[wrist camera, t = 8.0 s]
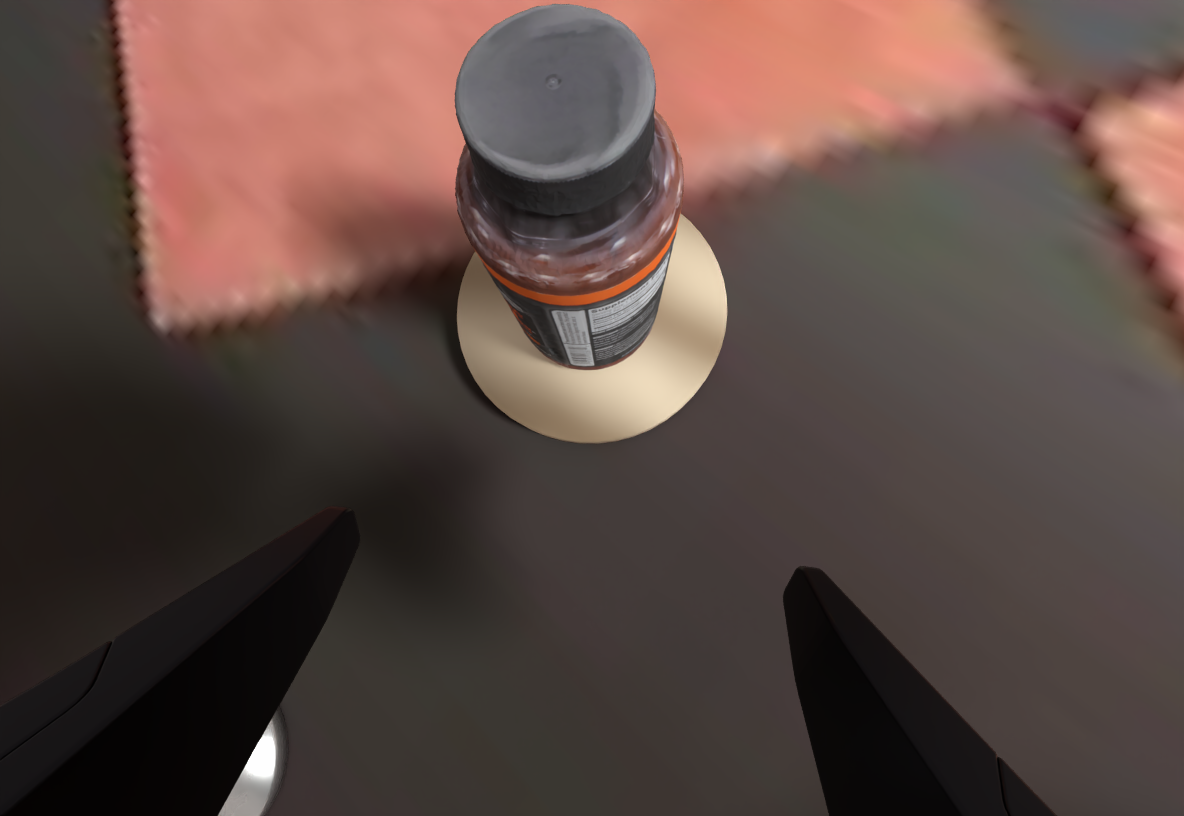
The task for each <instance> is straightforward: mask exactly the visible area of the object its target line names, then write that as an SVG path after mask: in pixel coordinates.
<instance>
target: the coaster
mask: <svg viewBox="0 0 1184 816" xmlns="http://www.w3.org/2000/svg"><path fill="white" fill-rule="evenodd" d="M726 319H727V297H726V291H725V285H724V280H723V276H722V273H721V270H720V267H719V264H718V262H717V260H716V258H715V256H714V254H713V252H712V250H711V248H710V246H709V245H708V243H707V242H706V240H705V239H704V237H703V236H702V235H701V233H700V232H699V231H698V230H697V229H696V228H695V227H694V225H693V224H692V223H691V222H690V221H689V220H688V219H686V218H685V217H684V216H683V215H682V214H681V213H680V217H679V222H678V226H677V232H676V237H675V240H674V244H673V249H672V253H671V257H670V261H669V265H668V270H667V274H666V279H665V282H664V286H663V291H662V295H661V299H660V303H659V308H658V312H657V315H656V318H655V321H654V324H653V326H652V330H651V332H650V334H649V335H648V336H647V338H646V340H645V341H644V343H643V344H642V345H641V346H640V347H639V348H638V349H637V350H636V351H635V352H634V353H633V354H632V355H631V356H629V357H628V358H626V359H625V360H624V361H622V362H620V363H618V364H616V365H613V366H610V367H608V368H604V369H599V370H577V369H571V368H567V367H564V366H561V365H559V364H557V363H555V362H554V361H552V360H550V359H549V358H547V357H546V356H544V355H543V354H542V353H541V352H540V351H539V350H538V349H537V348H536V347H535V346H534V344H532V343H531V341H530V340H529V338H528V337H527V336H526V335H525V333H524V331H523V329H522V328H521V326H520V324H519V322H518V321H517V320H516V317H515V316H514V314H513V312H512V311H511V309H510V307H509V305H508V304H507V302H506V301H505V299H504V297H503V296H502V294H501V292H500V291H499V289H498V288H497V286H496V285H495V283H494V281H493V280H492V278H491V276H490V275H489V273H488V272H487V270H486V268H485V267H484V265H483V263H482V261H481V259H480V257H479V256H478V254H477V253H476V251H475V252H474V254H473V256H472V258H471V260H470V262H469V264H468V266H467V268H466V271H465V274H464V277H463V280H462V283H461V287H460V292H459V298H458V307H457V325H458V335H459V340H460V345H461V349H462V352H463V355H464V358H465V361H466V363H467V366H468V368H469V370H470V372H471V374H472V375H473V377H474V379H475V381H476V382H477V384H478V385H479V387H480V388H481V389H482V391H483V392H484V394H485V395H486V396H487V397H488V398H489V399H490V400H491V401H492V402H493V403H494V404H495V405H496V406H497V407H498V408H499V409H500V410H501V411H503V412H504V413H505V414H507V415H508V416H509V417H510V418H512V419H513V420H515V421H517V422H518V423H520V424H522V425H524V426H525V427H527V428H529V429H530V430H532V431H535V432H537V433H539V434H542V435H544V436H546V437H550V438H553V439H557V440H561V441H564V442H572V443H579V444H602V443H609V442H617V441H620V440H624V439H628V438H632V437H635V436H637V435H640V434H642V433H644V432H647V431H649V430H651V429H653V428H655V427H656V426H658V425H660V424H662V423H663V422H665V421H666V420H668V419H669V418H670V417H671V416H673V415H674V414H675V413H677V412H678V411H679V410H680V409H681V408H682V407H683V406H684V405H685V404H686V403H687V402H688V401H689V400H690V399H691V398H692V397H693V396H694V394H695V393H696V392H697V390H698V389H699V388H700V386H701V385H702V384H703V383H704V381H705V380H706V378H707V377H708V375H709V373H710V371H711V369H712V368H713V366H714V364H715V362H716V359H717V357H718V354H719V352H720V349H721V346H722V342H723V338H724V334H725V330H726Z"/></svg>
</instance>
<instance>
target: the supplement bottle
mask: <svg viewBox="0 0 1184 816" xmlns="http://www.w3.org/2000/svg"><path fill="white" fill-rule="evenodd" d="M655 96H656V84H655V75H654V70H653V67H652V64H651V61H650V57H649V54H648V52H647V50H646V48H645V47H644V46H643V45H642V44H641V42H640V40H639V39H638V38H637V36H636V35H635V34H634V33H633V32H632V31H631V30H630V29H629V28H628V27H627V26H626V25H625V24H623V23H622V22H621V21H618V20H616V19H614V18H613V17H612V16H610V15H608V14H605V13H602V12H601V11H599V10H597V9H591V8H586V7H583V6H578V5H570V4H552V5H548V6H536V7H533V8H530V9H528V10H526V11H523V12H520V13H517V14H515V15H513V16H511V17H509V18H507V19H505V20H503V21H502V22H500V23H498V24H496V25H494V26H493V27H492V28H491V29H490V30H489V31H488V32H486V33H485V34H484V35H483V36H482V37H481V38H480V39H479V40H478V41H477V43H476V44H475V45H474V46H473V47H472V48H471V49H470V51H469V52H468V54H467V56H466V57H465V59H464V62H463V64H462V66H461V69H460V72H459V75H458V77H457V82H456V90H455V108H456V115H457V119H458V122H459V125H460V128H461V131H462V133H463V136H464V139H465V142H466V144H465V146H464V148H463V152H462V154H461V157H460V160H459V165H458V168H457V176H456V188H455V190H456V193H455V196H456V199H457V206H458V210H457V211H458V214H459V217H460V219H461V222H462V225H463V227H464V230H465V233H466V235H467V237H468V239H469V241H470V243H471V244H472V246H473V248H474V249H475V251H476V253H477V254H478V256H479V257H480V259H481V261H482V263H483V265H484V267H485V268H486V270H487V272H488V273H489V275H490V276H491V278H492V280H493V281H494V283H495V285H496V286H497V288H498V289H499V291H500V292H501V294H502V296H503V297H504V299H505V301H506V302H507V304H508V305H509V307H510V309H511V311H512V312H513V314H514V316H515V317H516V320H517V321H518V322H519V324H520V326H521V328H522V329H523V331H524V333H525V335H526V336H527V337H528V338H529V340H530V341H531V343H532V344H534V346H535V347H536V348H537V349H538V350H539V351H540V352H541V353H542V354H543V355H544V356H546V357H547V358H549V359H550V360H552V361H554V362H555V363H557V364H559V365H561V366H564V367H567V368H571V369H577V370H599V369H604V368H608V367H610V366H613V365H616V364H618V363H620V362H622V361H624V360H625V359H626V358H628V357H629V356H631V355H632V354H633V353H634V352H635V351H636V350H637V349H638V348H639V347H640V346H641V345H642V344H643V343H644V341H645V340H646V338H647V336H648V335H649V334H650V332H651V330H652V326H653V324H654V321H655V318H656V315H657V312H658V308H659V303H660V299H661V295H662V291H663V286H664V282H665V279H666V274H667V270H668V265H669V261H670V257H671V253H672V249H673V244H674V240H675V237H676V232H677V226H678V222H679V217H680V213H681V208H682V202H683V191H684V173H683V164H682V158H681V155H680V151H679V148H678V145H677V143H676V140H675V138H674V136H673V134H672V132H671V130H670V128H669V126H668V125H667V123H666V122H665V120H664V119H663V117H662V116H661V115H660V114H659V113H658V112H657V111H656V110H655Z"/></svg>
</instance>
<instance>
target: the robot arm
mask: <svg viewBox="0 0 1184 816" xmlns="http://www.w3.org/2000/svg"><path fill="white" fill-rule="evenodd" d="M359 542H360V533H359V530H358V526H357V522H356V518H355V514H354V511H353V510H352V509H351V508H347V507H340V506H330V507H327V508H325V509H324V510H322V511H320V512H319V513H317V514H316V515H314V516H312V517H311V518H309V519H307V520H306V521H304V522H303V523H301V524H299V525H298V526H296V527H294V528H293V529H291V530H289V531H288V532H286V533H285V534H283V535H281V536H280V537H278V538H276V539H275V540H273V541H272V542H270V543H268V544H267V545H265V546H263V547H262V548H260V549H258V550H257V551H255V552H254V553H252V554H250V555H249V556H247V557H245V558H244V559H242V560H241V561H239V562H237V563H236V564H234V565H232V566H231V567H229V568H227V569H226V570H224V571H223V572H221V573H219V574H218V575H216V576H214V577H213V578H211V579H210V580H208V581H206V582H205V583H203V584H201V585H200V586H198V587H196V588H195V589H193V590H192V591H190V592H188V593H187V594H185V595H183V596H182V597H180V598H179V599H177V600H175V601H174V602H172V603H170V604H169V605H167V606H165V607H164V608H162V609H161V610H159V611H157V612H156V613H154V614H152V615H151V616H149V617H148V618H146V619H144V620H143V621H141V622H139V623H138V624H136V625H135V626H133V627H131V628H130V629H128V630H126V631H125V632H123V633H121V634H120V635H118V636H117V637H115V638H114V640H113V642H112V641H109V642H106V643H105V644H103V645H102V646H100V647H98V648H97V649H95V650H93V651H92V652H90V653H89V654H87V655H85V656H84V657H82V658H80V659H79V660H77V661H75V662H74V663H72V664H70V665H69V666H67V667H65V668H64V669H62V670H60V671H59V672H57V673H55V674H54V675H52V676H50V677H48V678H47V679H45V680H43V681H42V682H40V683H38V684H37V685H35V686H33V687H32V688H30V689H28V690H26V691H25V692H23V693H21V694H19V695H17V696H16V697H14V698H12V699H10V700H9V701H7V702H5V703H3V704H1V705H0V816H218V815H219V813H220V811H221V809H222V808H223V806H224V804H225V802H226V800H227V799H228V797H229V795H230V793H231V791H232V790H233V788H234V786H235V784H236V782H237V781H238V779H239V777H240V775H241V773H242V772H243V770H244V768H245V766H246V764H247V763H248V761H249V759H250V757H251V755H252V754H253V752H254V750H255V748H256V746H257V745H258V743H259V741H260V739H261V737H262V736H263V734H264V732H265V730H266V728H267V727H268V725H269V723H270V721H271V719H272V718H273V716H274V714H275V712H276V710H277V709H278V707H279V705H280V703H281V701H282V700H283V698H284V696H285V694H286V692H287V691H288V689H289V687H290V685H291V683H292V682H293V680H294V678H295V676H296V674H297V673H298V671H299V669H300V667H301V665H302V664H303V662H304V660H305V658H306V656H307V655H308V653H309V651H310V649H311V647H312V646H313V644H314V642H315V640H316V638H317V637H318V635H319V633H320V631H321V629H322V627H323V626H324V624H325V622H326V620H327V618H328V616H329V613H330V611H331V609H332V607H333V605H334V602H335V600H336V598H337V595H338V593H339V591H340V588H341V586H342V584H343V581H344V579H345V577H346V574H347V572H348V570H349V567H350V565H351V563H352V560H353V558H354V556H355V553H356V551H357V549H358V546H359ZM783 603H784V610H785V617H786V624H787V631H788V637H789V644H790V651H791V658H792V665H793V671H794V676H795V682H796V686H797V690H798V695H799V699H800V703H801V706H802V710H803V714H804V718H805V722H806V726H807V730H808V734H809V738H810V742H811V746H812V750H813V754H814V758H815V762H816V765H817V769H818V773H819V777H820V781H821V785H822V789H823V793H824V797H825V801H826V805H827V809H828V813H829V816H1057V815H1056V814H1055V813H1054V812H1053V811H1052V810H1051V809H1050V808H1049V807H1048V806H1047V805H1046V804H1045V803H1044V802H1043V801H1042V800H1041V799H1040V798H1039V797H1038V796H1037V795H1036V794H1035V793H1034V792H1033V791H1032V790H1031V789H1030V788H1029V787H1028V785H1027V784H1026V783H1025V782H1024V781H1023V780H1022V779H1021V778H1020V777H1019V776H1018V775H1017V774H1016V773H1015V772H1014V771H1013V770H1012V769H1011V768H1010V767H1009V766H1008V765H1007V763H1006V762H1005V761H1004V760H1003V759H1001V758H999V757H997V754H996V752H995V751H994V750H993V749H992V748H991V747H990V746H989V745H988V744H987V743H986V742H985V741H984V740H983V739H982V737H981V736H980V735H979V734H978V733H977V732H976V731H975V730H974V729H973V728H972V727H971V726H970V725H969V724H968V723H967V722H966V721H965V720H964V719H963V718H962V716H961V715H960V714H959V713H958V712H957V711H956V710H955V709H954V708H953V707H952V706H951V705H950V704H949V703H948V702H947V701H946V700H945V699H944V698H943V697H942V695H941V694H940V693H939V692H938V691H937V690H936V689H935V688H934V687H933V686H932V685H931V684H930V683H929V682H928V681H927V680H926V679H925V678H924V677H923V676H922V674H921V673H920V672H919V671H918V670H917V669H916V668H915V667H914V666H913V665H912V664H911V663H910V662H909V661H908V660H907V659H906V658H905V657H904V656H903V654H902V653H901V652H900V651H899V650H898V649H897V648H896V647H895V646H894V645H893V644H892V643H891V642H890V641H889V640H888V639H887V638H886V637H885V636H884V635H883V633H882V632H881V631H880V630H879V629H878V628H877V627H876V626H875V625H874V624H873V623H872V622H871V621H870V620H869V619H868V618H867V617H866V616H865V615H864V614H863V612H862V611H861V610H860V609H859V608H858V607H857V606H856V605H855V604H854V603H853V602H852V601H851V600H850V599H849V598H848V597H847V596H846V595H845V594H844V593H843V591H842V590H841V589H840V588H839V587H838V586H837V585H836V584H835V583H834V582H833V581H832V580H831V579H830V578H829V577H828V576H827V575H826V574H825V573H824V572H823V571H822V570H821V569H818V568H813V567H806V566H800V567H798V568H797V569H796V570H795V572H794V574H793V575H792V577H791V579H790V581H789V583H788V585H787V586H786V588H785V591H784V595H783Z"/></svg>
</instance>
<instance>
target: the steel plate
mask: <svg viewBox="0 0 1184 816" xmlns="http://www.w3.org/2000/svg"><path fill="white" fill-rule="evenodd" d="M287 759H288V735H287V728H286V724H285V719H284V716H283V714H282V711H281V708H280V706H279V707H278V709H277V710H276V712H275V714H274V716H273V718H272V719H271V721H270V723H269V725H268V727H267V728H266V730H265V732H264V734H263V736H262V737H261V739H260V741H259V743H258V745H257V746H256V748H255V750H254V752H253V754H252V755H251V757H250V759H249V761H248V763H247V764H246V766H245V768H244V770H243V772H242V773H241V775H240V777H239V779H238V781H237V782H236V784H235V786H234V788H233V790H232V791H231V793H230V795H229V797H228V799H227V800H226V802H225V804H224V806H223V808H222V809H221V811H220V813H219V815H218V816H264V815H265V814H266V813H267V812H268V810H269V809H270V807H271V805H272V804H273V802H274V801H275V799H276V797H277V794H278V792H279V790H280V788H281V785H282V782H283V779H284V776H285V771H286V767H287Z"/></svg>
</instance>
